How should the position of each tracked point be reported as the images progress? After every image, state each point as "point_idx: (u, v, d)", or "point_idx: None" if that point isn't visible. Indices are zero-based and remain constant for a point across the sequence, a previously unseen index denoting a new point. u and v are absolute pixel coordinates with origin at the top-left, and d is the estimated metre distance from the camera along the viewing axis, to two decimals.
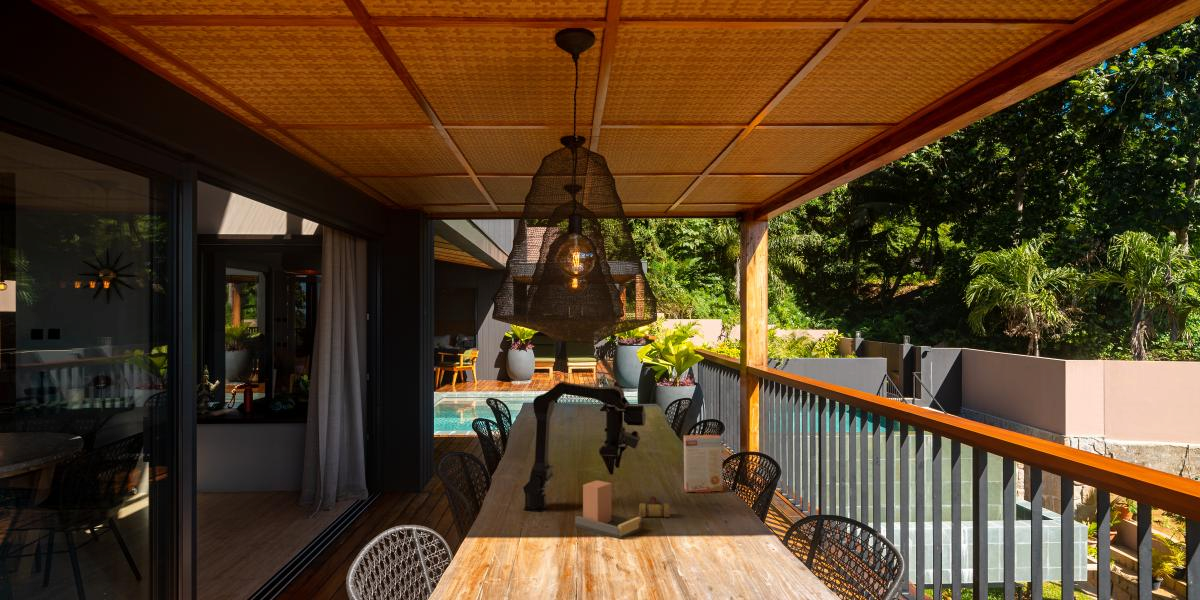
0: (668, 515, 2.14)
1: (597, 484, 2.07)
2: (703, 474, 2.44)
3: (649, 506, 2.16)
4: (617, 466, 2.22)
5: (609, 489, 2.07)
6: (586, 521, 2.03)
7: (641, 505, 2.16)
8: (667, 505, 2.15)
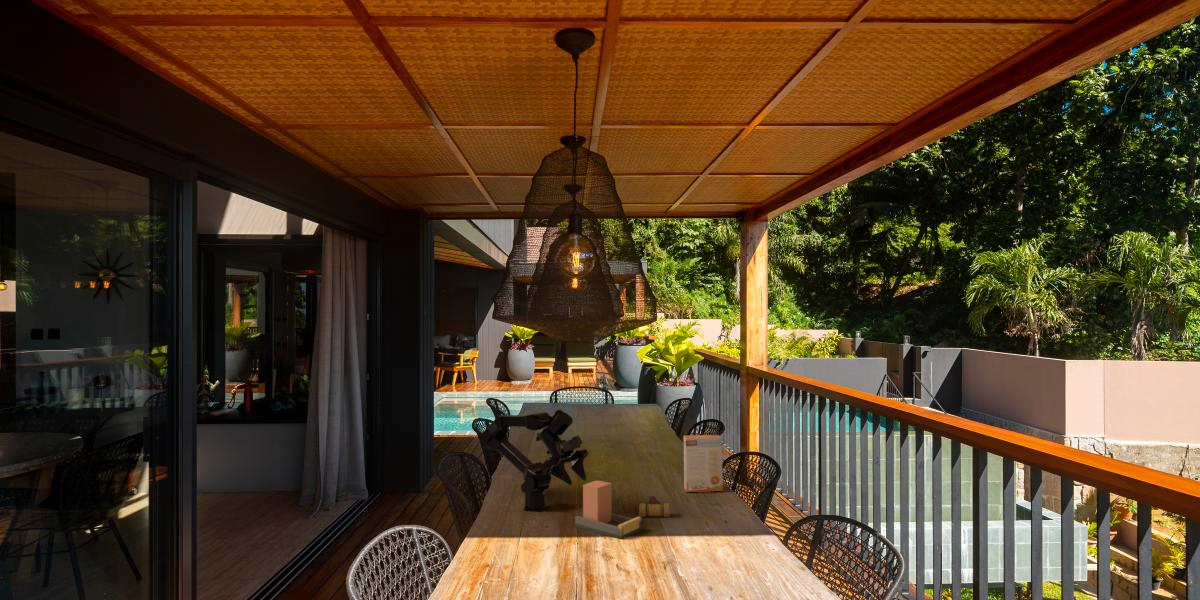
0: (668, 515, 2.15)
1: (597, 484, 2.07)
2: (703, 474, 2.44)
3: (649, 506, 2.16)
4: (584, 478, 2.15)
5: (609, 489, 2.07)
6: (586, 521, 2.03)
7: (641, 505, 2.16)
8: (667, 505, 2.16)
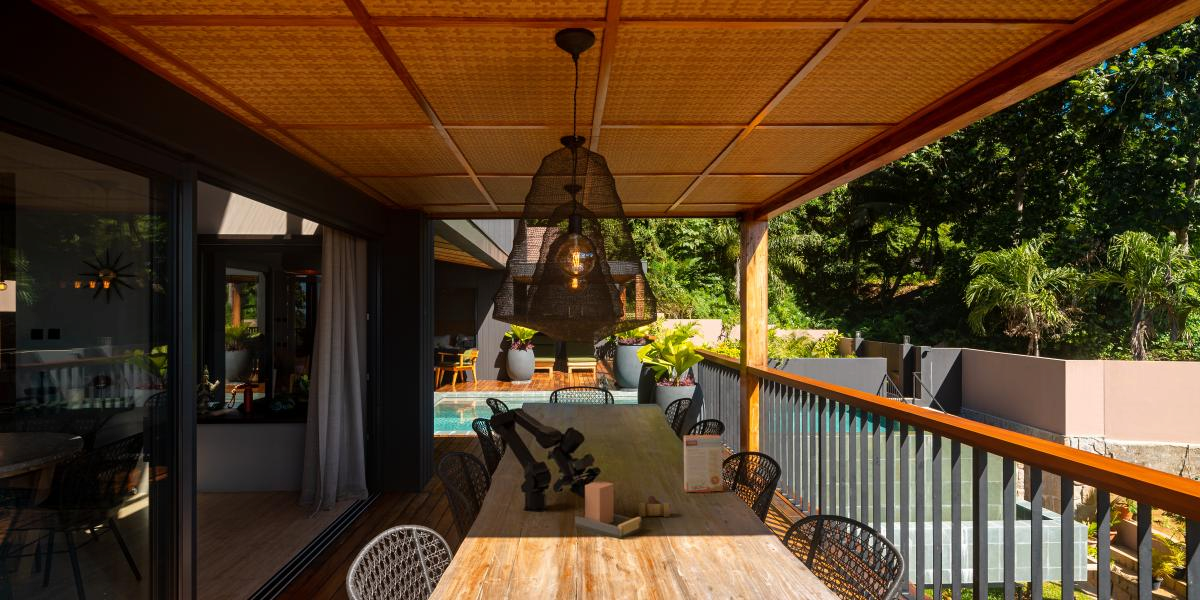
0: (668, 514, 2.15)
1: (599, 485, 2.06)
2: (703, 474, 2.44)
3: (649, 505, 2.16)
4: None
5: (611, 489, 2.07)
6: (586, 521, 2.03)
7: (641, 504, 2.16)
8: (667, 504, 2.16)
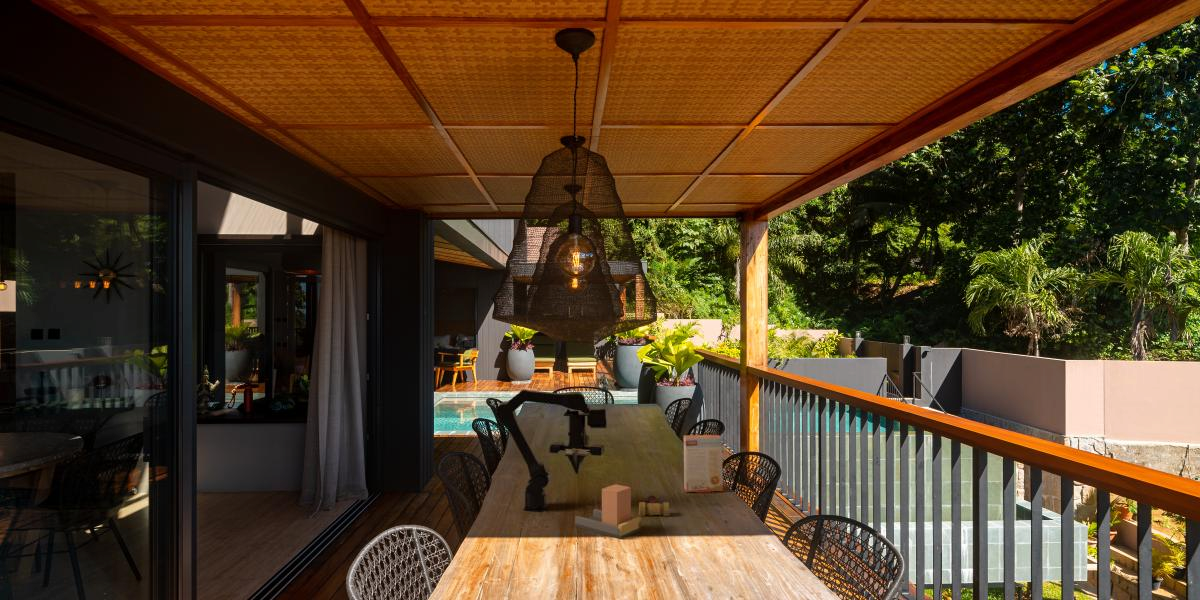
0: (668, 514, 2.16)
1: (616, 488, 2.02)
2: (703, 474, 2.44)
3: (649, 505, 2.17)
4: None
5: (628, 493, 2.02)
6: (586, 521, 2.03)
7: (641, 504, 2.17)
8: (667, 504, 2.17)
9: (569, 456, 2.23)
